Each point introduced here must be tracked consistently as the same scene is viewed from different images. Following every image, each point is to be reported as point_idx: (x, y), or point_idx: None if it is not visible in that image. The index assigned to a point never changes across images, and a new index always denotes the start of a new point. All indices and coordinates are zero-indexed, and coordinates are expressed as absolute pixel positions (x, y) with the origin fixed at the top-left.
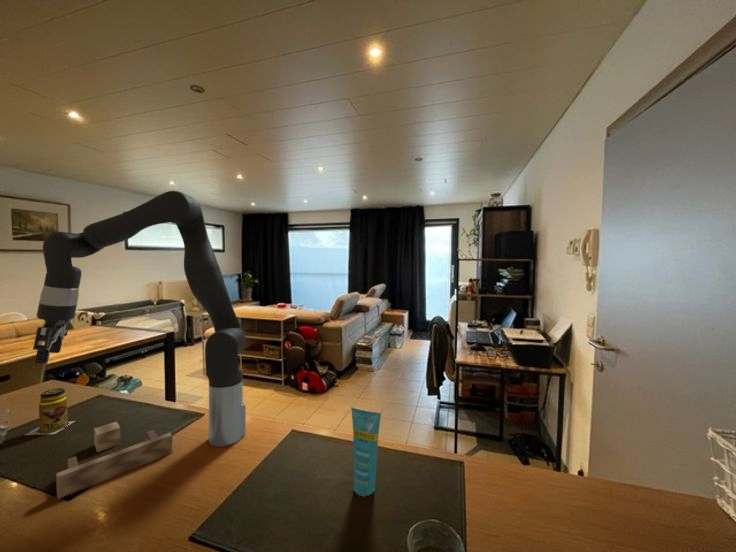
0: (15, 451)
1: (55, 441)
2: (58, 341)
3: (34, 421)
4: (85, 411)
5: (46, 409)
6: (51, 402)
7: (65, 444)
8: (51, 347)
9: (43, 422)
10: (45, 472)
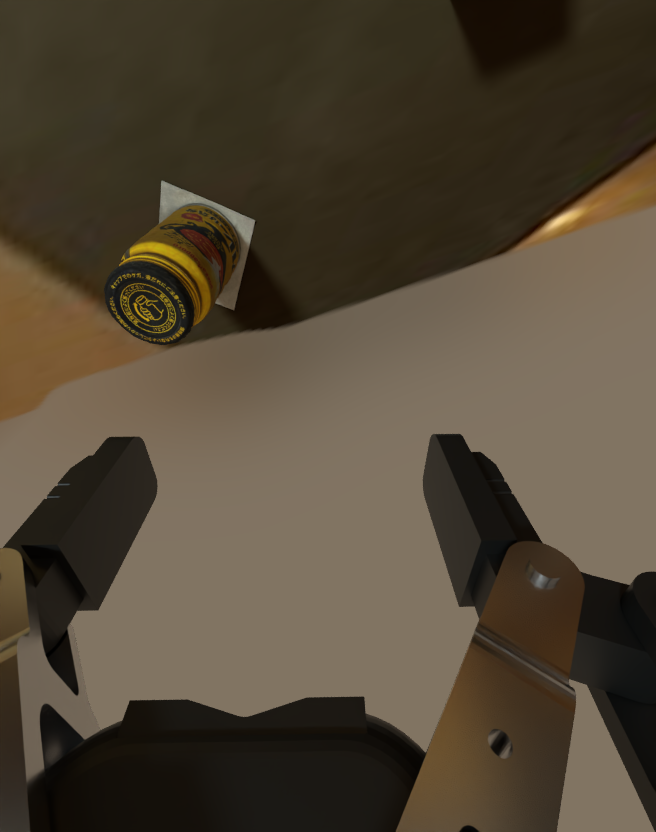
0: (335, 293)
1: (319, 198)
2: (74, 556)
3: None
4: (65, 171)
5: (217, 288)
6: (201, 285)
7: (365, 150)
8: (133, 523)
9: (229, 276)
10: (560, 147)
